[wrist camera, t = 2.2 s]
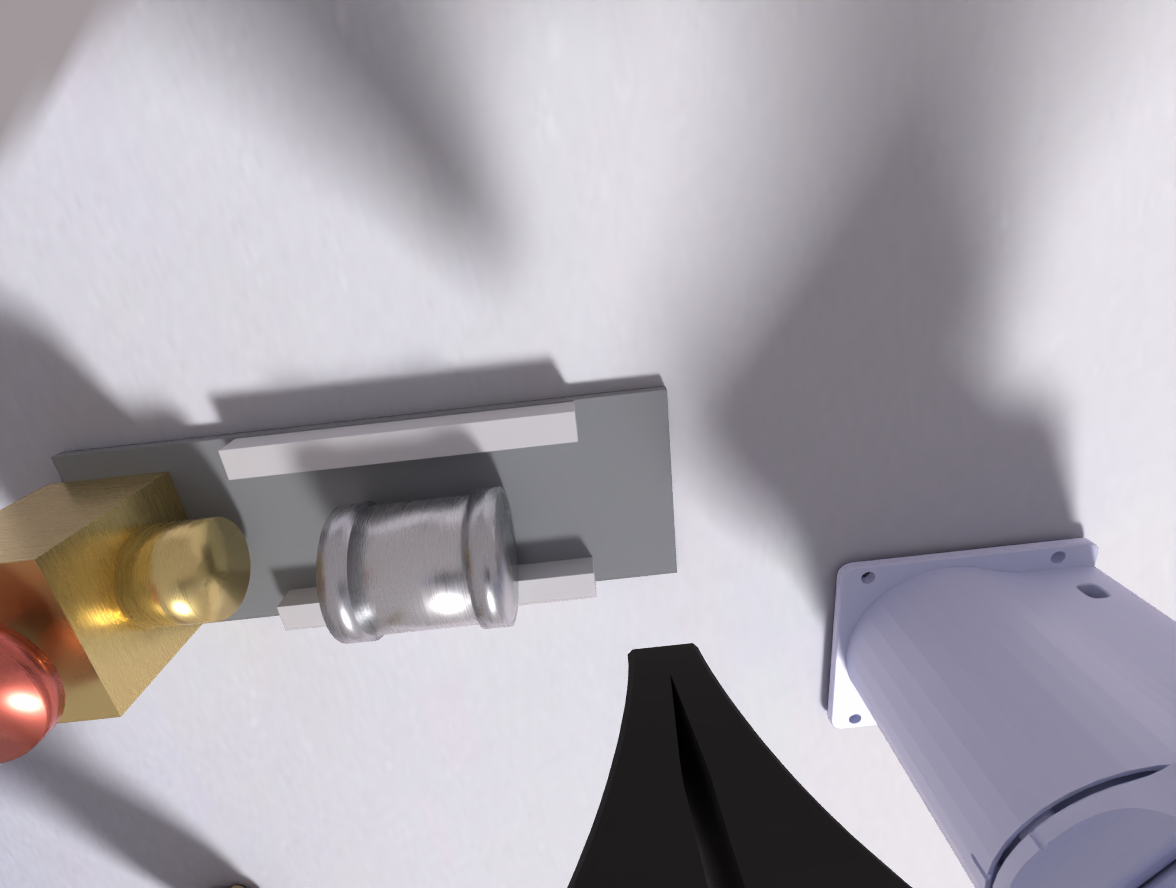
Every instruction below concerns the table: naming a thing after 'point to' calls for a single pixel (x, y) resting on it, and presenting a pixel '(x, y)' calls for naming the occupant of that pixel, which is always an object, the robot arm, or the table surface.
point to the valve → (103, 597)
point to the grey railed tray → (433, 488)
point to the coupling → (418, 566)
